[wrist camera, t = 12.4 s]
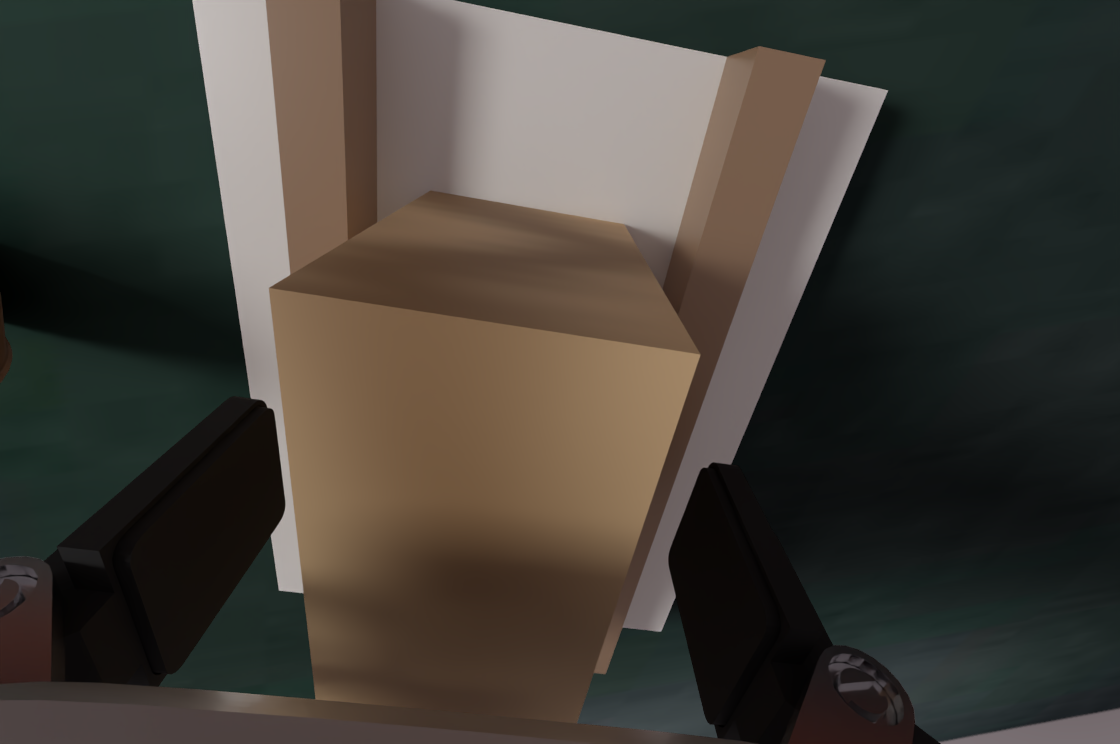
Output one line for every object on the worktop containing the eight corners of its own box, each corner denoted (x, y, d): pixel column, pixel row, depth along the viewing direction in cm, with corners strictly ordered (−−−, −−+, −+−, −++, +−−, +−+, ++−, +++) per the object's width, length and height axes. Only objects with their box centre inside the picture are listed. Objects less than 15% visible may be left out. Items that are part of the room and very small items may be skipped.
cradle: (655, 603, 20) (670, 680, 17) (295, 562, 18) (250, 638, 16) (857, 92, 11) (948, 86, 9) (223, -38, 10) (104, -91, 7)
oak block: (624, 224, 11) (701, 354, 5) (550, 552, 17) (545, 816, 10) (430, 190, 11) (268, 288, 5) (416, 537, 16) (327, 800, 10)
